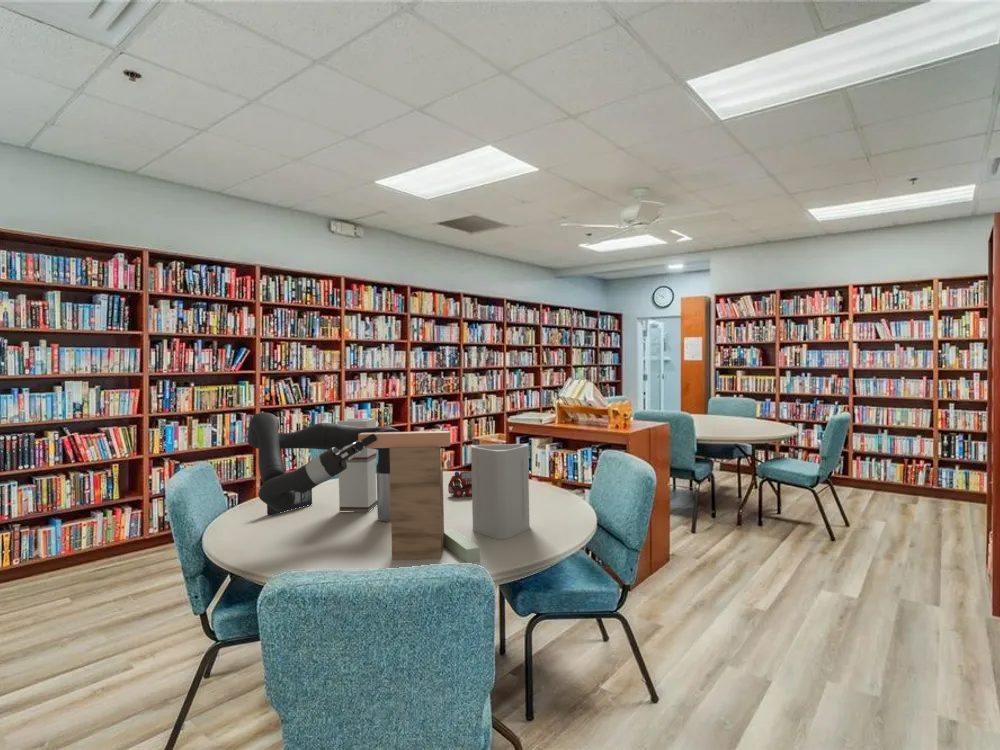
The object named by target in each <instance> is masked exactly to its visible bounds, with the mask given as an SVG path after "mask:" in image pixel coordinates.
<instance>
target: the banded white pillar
mask: <svg viewBox="0 0 1000 750" xmlns="http://www.w3.org/2000/svg"><path fill="white" fill-rule="evenodd" d="M376 420H377V419H376V418H371V417H370V418H369V417H368V418H366V417H364V418H358V417H357V418H356V417H354V418H346V420H337V422H336V424H343V425H350V426H355V427H362V428H374V427H377V426H376V424H377V423H376V422H377V421H376ZM339 451H340V452H341V451H342V450H339ZM345 461H346V463H347V468H346V469H345V470H344V471H342V472H341V473H339V474H338V493H339V494H338V496H339V497H338V501H339V502H338V506H339V512H340V511H354V512H353V513H366V512H368V513H370V512H371V511H372V510H373V509H375V508H376V507H377V506H376V505H377V469H376V466H377V463H376V462H377V449H370V448H365V449H363V451H361V452H360V453H359V454H357V455H355V457H353V458H352V459H350V460H349V461H348V459H347V460H345ZM375 506H376V507H375ZM374 507H375V508H374ZM372 508H373V509H372ZM371 509H372V510H371ZM370 510H371V511H370ZM369 511H370V512H369Z"/></svg>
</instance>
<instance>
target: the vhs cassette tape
mask: <svg viewBox="0 0 1000 750" xmlns="http://www.w3.org/2000/svg"><path fill="white" fill-rule="evenodd" d="M311 504H312V505H313V488H312V489H311V490H309V491H307V492H305V493H300V492H297V491H295V502H294V504H293V506H292V507H291V508H290V509H289V510H291V509H295V508H299V507H303V506H307V505H311ZM312 505H311V506H312ZM307 507H308V506H307ZM303 508H304V507H303ZM266 509H267V510H266V513H267V514H268V515H267V516H270V515H272V516H274V515H273V514H276V513H280V512H279V511H276V510H274V509H273V508H272V507H270V506H269V505H267V504H266ZM280 514H281V513H280ZM276 515H277V514H276Z"/></svg>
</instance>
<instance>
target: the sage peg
mask: <svg viewBox="0 0 1000 750" xmlns="http://www.w3.org/2000/svg"><path fill="white" fill-rule="evenodd" d="M444 547H446V548H448V549H449V550H450V551H451V552H453V553H454V554H455V555H457V556H458V557H459V558H460V559H461V560H463V561H464V562H465V563H467V562H468V563H472V562H478V561H481V549H480V546H479V545H477V544H476V543H474V542H473V541H472V540H470V539H469V538H467V537H465V536H464V535H463V534H461V533H460V532H459V531H457V530H455V528H450V529H444Z"/></svg>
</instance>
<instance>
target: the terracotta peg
mask: <svg viewBox="0 0 1000 750" xmlns="http://www.w3.org/2000/svg"><path fill="white" fill-rule="evenodd" d="M371 434H375V436H376V437H377V440H376V441H374V442H373V443H371V444H369V445H368V446H366V445H365V446H366V447H365V448H402V447H445V448H446V447H451V431H450V430H437V431H436V430H430V431H429V430H428V431H426V430H425V431H400V432H377V433H360V434H358V442H359V440H362V441H363V439H364V438H366V437H368V436H369V435H371Z"/></svg>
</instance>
